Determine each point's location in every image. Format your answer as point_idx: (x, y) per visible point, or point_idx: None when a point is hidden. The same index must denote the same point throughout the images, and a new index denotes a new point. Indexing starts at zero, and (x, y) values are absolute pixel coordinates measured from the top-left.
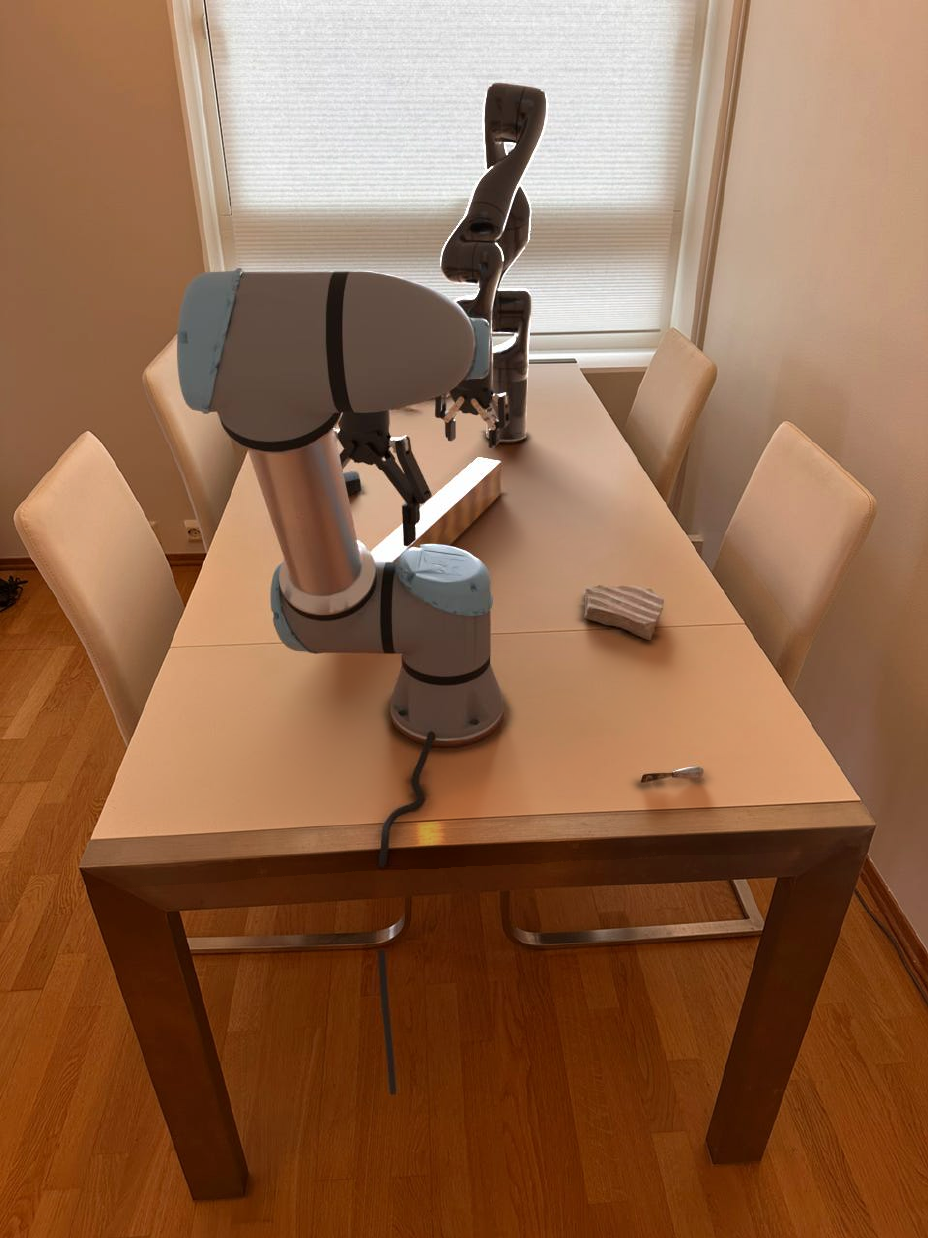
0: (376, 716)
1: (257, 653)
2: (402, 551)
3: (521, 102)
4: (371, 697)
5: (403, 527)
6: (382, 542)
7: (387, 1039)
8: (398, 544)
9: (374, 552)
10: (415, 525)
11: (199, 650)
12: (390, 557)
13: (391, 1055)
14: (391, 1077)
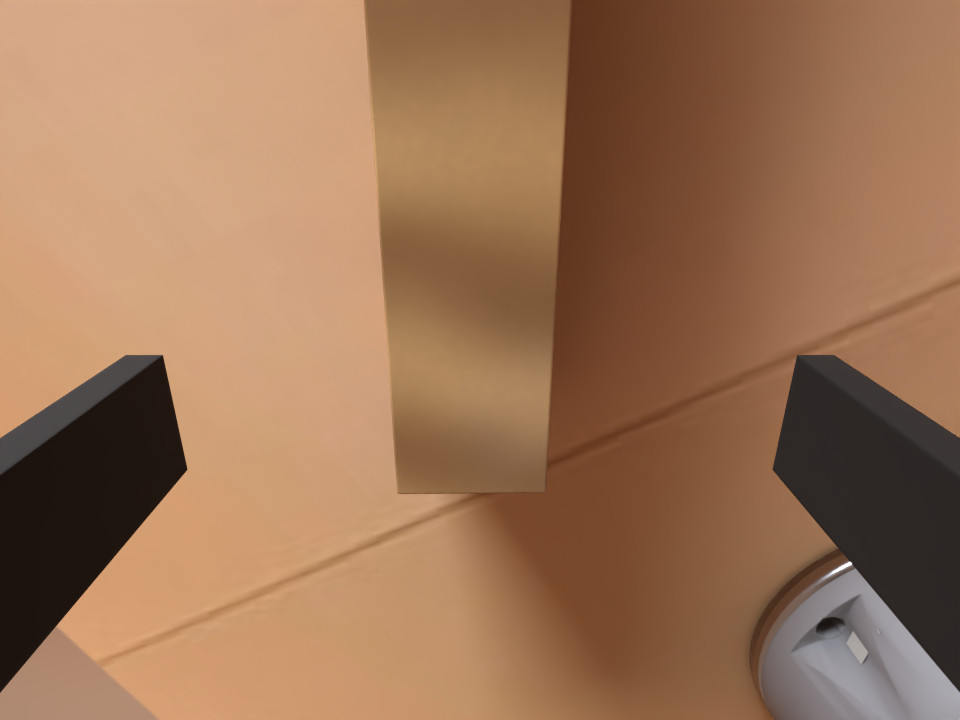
0: (722, 693)
1: (302, 619)
2: (560, 99)
3: None
4: (684, 651)
5: (857, 562)
6: (377, 29)
7: None
8: (492, 11)
9: (405, 185)
10: (911, 407)
11: (155, 658)
12: (524, 203)
13: None
14: None
